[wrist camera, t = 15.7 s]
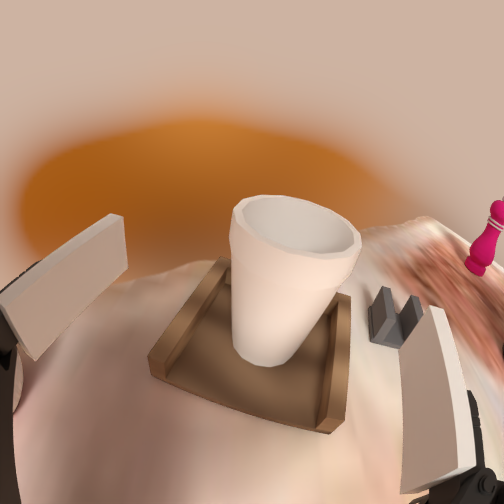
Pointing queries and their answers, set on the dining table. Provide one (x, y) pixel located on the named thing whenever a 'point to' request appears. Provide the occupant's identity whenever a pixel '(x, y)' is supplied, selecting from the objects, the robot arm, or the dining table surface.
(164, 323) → the dining table surface
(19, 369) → the ramekin
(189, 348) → the end holder
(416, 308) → the clip
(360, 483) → the dining table surface
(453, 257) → the dining table surface
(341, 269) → the foam cup
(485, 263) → the pepper mill
